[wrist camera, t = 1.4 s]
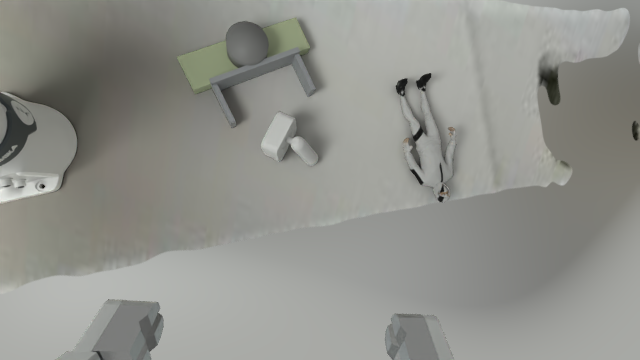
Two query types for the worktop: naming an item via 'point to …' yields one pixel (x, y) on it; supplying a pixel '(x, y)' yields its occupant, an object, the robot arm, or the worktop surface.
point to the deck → (221, 63)
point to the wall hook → (286, 140)
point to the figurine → (428, 145)
